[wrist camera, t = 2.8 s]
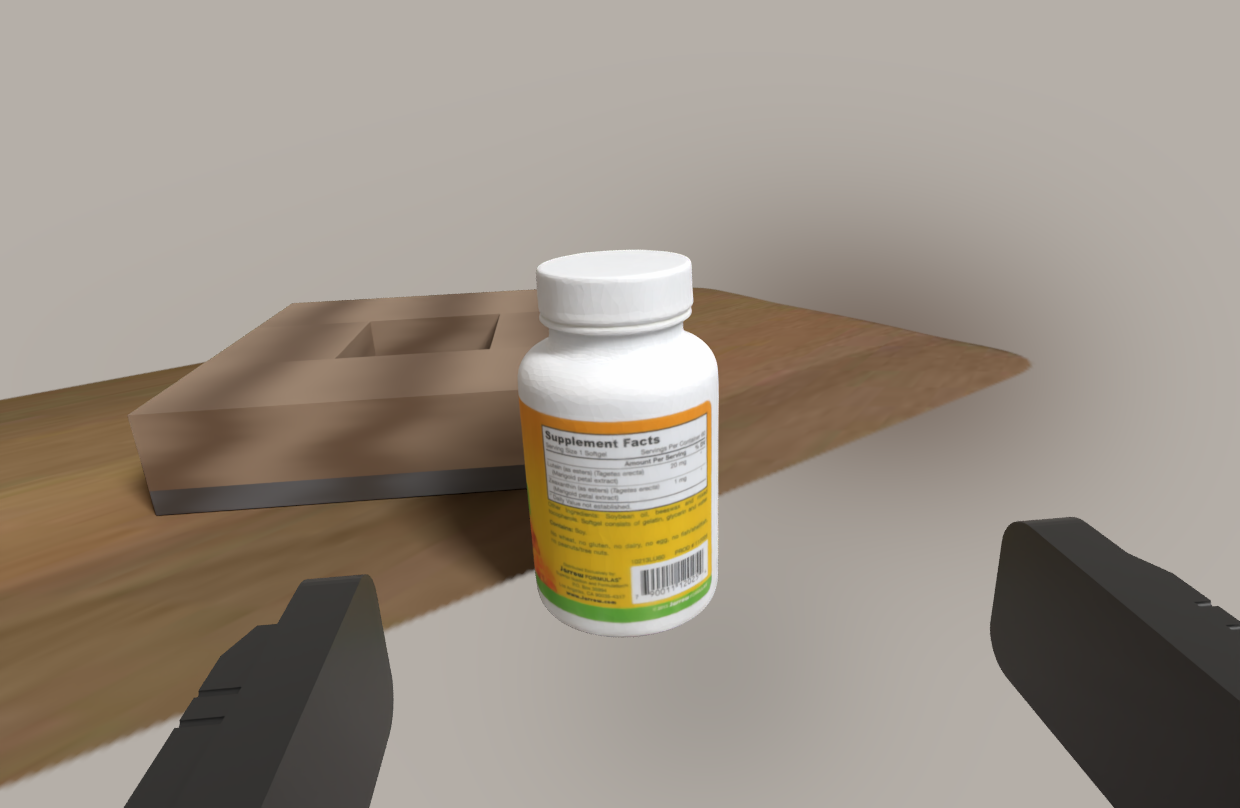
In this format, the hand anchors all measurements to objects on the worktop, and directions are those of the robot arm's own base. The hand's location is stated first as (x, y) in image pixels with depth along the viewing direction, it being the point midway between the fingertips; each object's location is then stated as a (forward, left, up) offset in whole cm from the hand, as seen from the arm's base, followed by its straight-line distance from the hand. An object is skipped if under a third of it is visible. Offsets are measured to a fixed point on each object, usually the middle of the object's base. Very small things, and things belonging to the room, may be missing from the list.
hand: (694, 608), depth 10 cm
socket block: (-8, +27, -7) cm, 29 cm away
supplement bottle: (0, +11, -7) cm, 14 cm away
